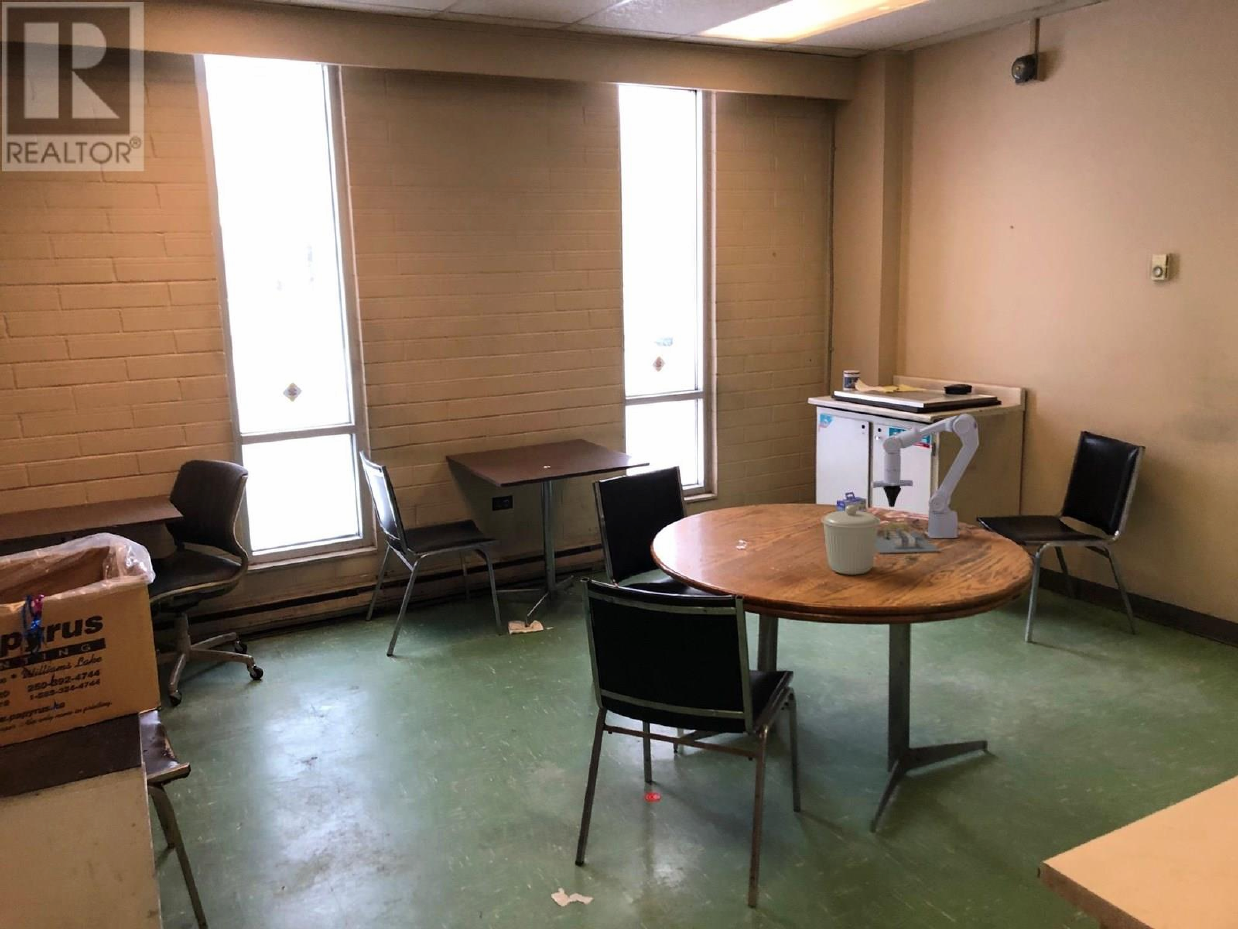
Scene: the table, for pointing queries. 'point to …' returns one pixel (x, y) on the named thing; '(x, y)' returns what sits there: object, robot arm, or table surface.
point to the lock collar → (894, 527)
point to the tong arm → (894, 538)
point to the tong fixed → (906, 538)
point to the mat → (904, 545)
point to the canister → (850, 540)
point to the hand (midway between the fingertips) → (891, 506)
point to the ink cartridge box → (852, 503)
